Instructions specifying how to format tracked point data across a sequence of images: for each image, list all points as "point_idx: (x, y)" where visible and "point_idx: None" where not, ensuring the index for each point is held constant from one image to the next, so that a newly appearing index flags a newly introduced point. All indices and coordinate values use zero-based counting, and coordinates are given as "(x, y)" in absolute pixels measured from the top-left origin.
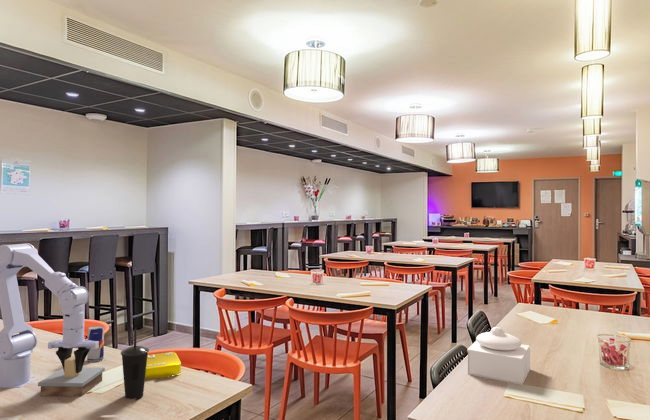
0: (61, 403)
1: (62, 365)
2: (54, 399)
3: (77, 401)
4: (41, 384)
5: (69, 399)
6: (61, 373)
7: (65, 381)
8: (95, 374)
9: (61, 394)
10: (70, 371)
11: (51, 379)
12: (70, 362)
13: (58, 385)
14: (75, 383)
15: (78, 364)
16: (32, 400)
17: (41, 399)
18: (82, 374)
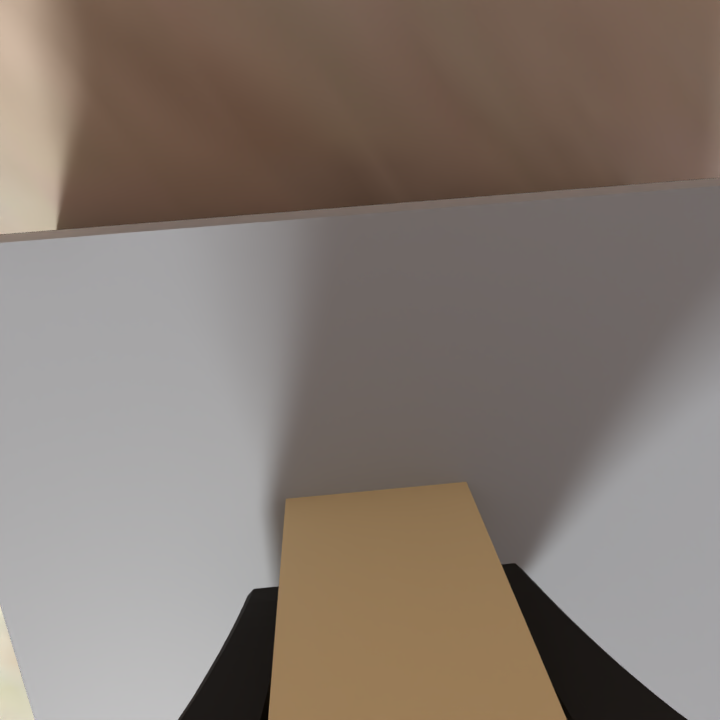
0: (207, 18)
1: (597, 647)
2: (402, 148)
3: (23, 112)
4: (712, 179)
5: (191, 169)
6: (613, 614)
7: (306, 296)
8: (18, 656)
9: None
10: (363, 555)
11: (631, 357)
12: (383, 712)
13: (390, 208)
14: (49, 238)
15: (193, 711)
16: (686, 85)
17: (581, 131)
18: (230, 621)
